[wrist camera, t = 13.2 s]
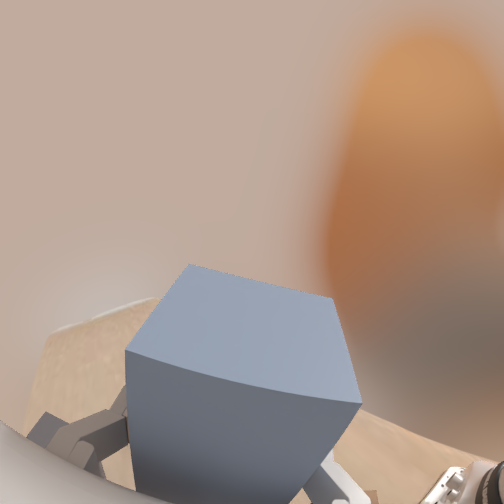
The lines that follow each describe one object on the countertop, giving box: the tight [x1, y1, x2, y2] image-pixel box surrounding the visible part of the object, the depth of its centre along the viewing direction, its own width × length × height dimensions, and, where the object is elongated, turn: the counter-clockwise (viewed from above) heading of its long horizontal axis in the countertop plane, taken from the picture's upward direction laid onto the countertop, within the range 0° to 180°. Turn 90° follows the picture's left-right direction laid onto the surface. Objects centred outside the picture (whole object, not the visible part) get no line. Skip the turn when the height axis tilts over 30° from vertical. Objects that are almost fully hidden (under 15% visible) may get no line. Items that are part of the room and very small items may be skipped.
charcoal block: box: [26, 412, 107, 480], centre depth 19 cm, size 5×5×12 cm
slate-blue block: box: [125, 264, 362, 504], centre depth 10 cm, size 5×5×12 cm
